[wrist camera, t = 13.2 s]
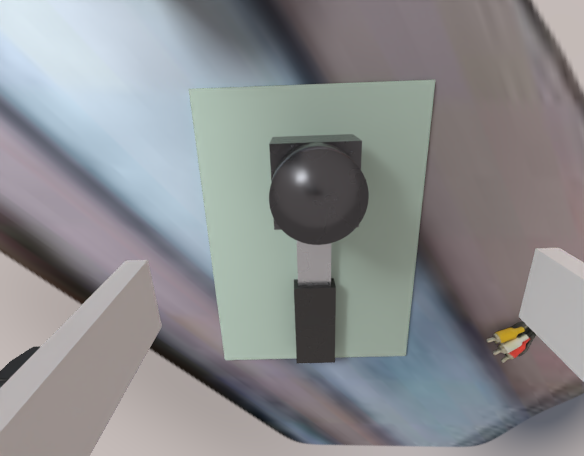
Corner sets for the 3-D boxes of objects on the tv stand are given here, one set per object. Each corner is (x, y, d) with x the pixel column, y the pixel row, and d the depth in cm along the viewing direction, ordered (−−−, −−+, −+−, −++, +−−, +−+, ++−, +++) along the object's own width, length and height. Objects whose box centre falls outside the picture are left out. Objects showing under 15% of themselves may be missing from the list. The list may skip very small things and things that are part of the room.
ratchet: (276, 136, 30) (273, 144, 25) (347, 133, 29) (357, 141, 25) (287, 351, 38) (286, 387, 33) (342, 350, 38) (348, 386, 33)
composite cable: (563, 283, 36) (582, 296, 33) (581, 313, 37) (600, 328, 35) (476, 331, 38) (488, 347, 35) (496, 358, 39) (508, 375, 37)
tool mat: (190, 89, 29) (188, 89, 28) (433, 79, 28) (435, 79, 28) (225, 357, 39) (224, 360, 38) (404, 353, 38) (405, 355, 38)
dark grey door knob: (272, 136, 28) (265, 150, 21) (352, 134, 28) (371, 147, 21) (276, 212, 30) (271, 246, 23) (350, 210, 30) (366, 243, 23)
